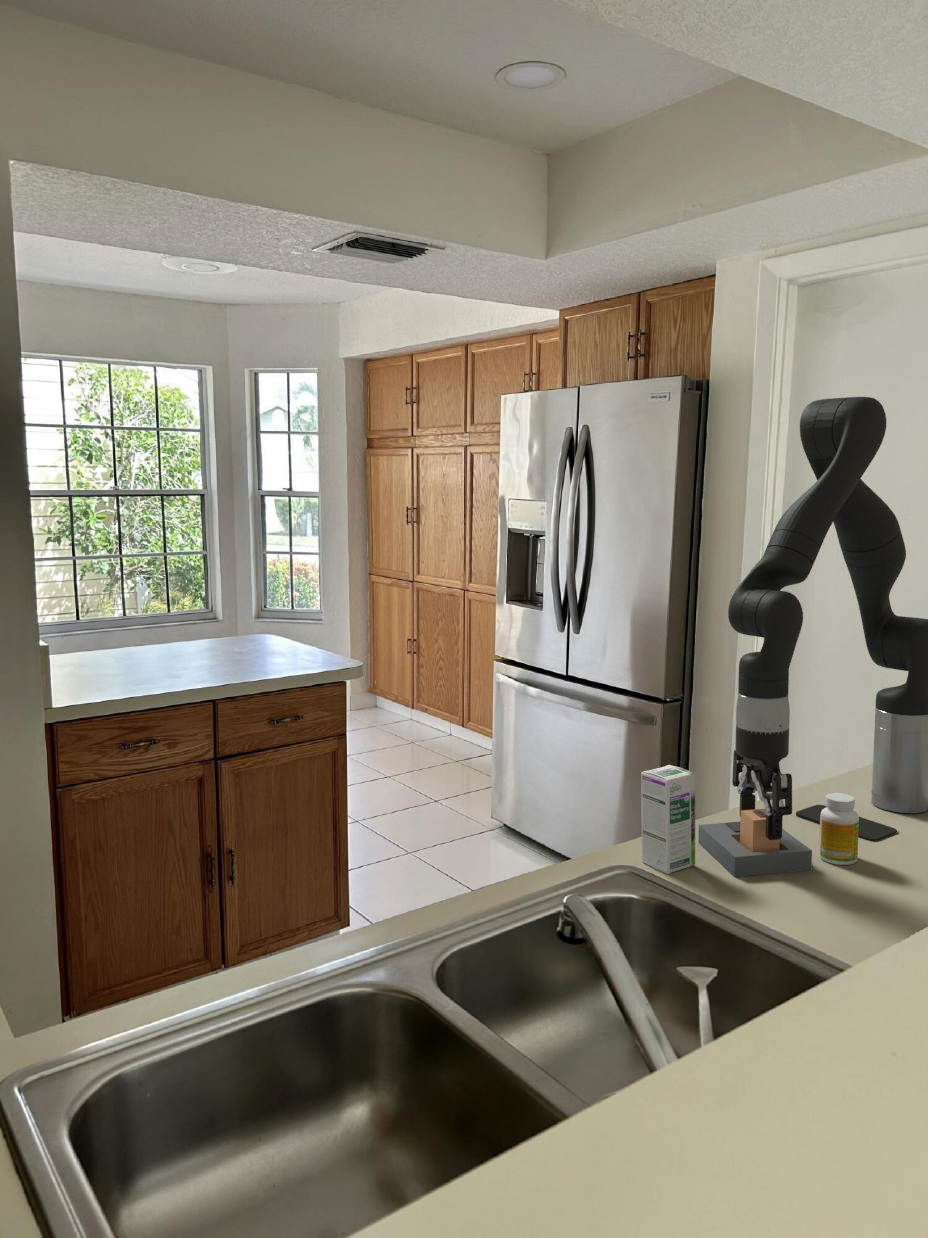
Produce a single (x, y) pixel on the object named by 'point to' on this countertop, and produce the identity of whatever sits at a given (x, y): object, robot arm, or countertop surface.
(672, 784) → the syrup box
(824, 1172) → the countertop surface
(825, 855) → the supplement bottle
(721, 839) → the plate
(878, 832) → the phone
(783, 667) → the robot arm
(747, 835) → the block
